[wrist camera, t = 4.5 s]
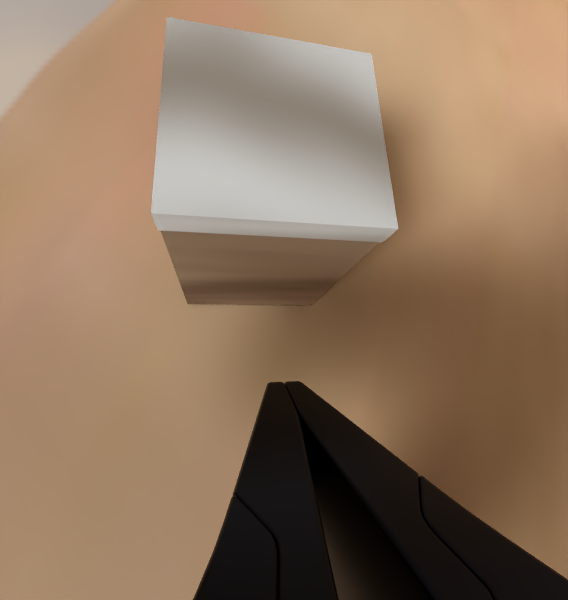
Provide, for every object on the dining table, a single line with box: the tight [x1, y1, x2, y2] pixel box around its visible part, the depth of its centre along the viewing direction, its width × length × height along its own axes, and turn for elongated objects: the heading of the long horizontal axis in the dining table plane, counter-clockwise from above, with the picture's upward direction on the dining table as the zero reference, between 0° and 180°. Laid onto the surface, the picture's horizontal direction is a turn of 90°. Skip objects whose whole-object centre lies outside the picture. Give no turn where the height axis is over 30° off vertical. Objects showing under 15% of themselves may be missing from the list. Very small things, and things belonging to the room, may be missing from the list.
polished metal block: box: [151, 17, 398, 305], centre depth 12 cm, size 6×6×8 cm
